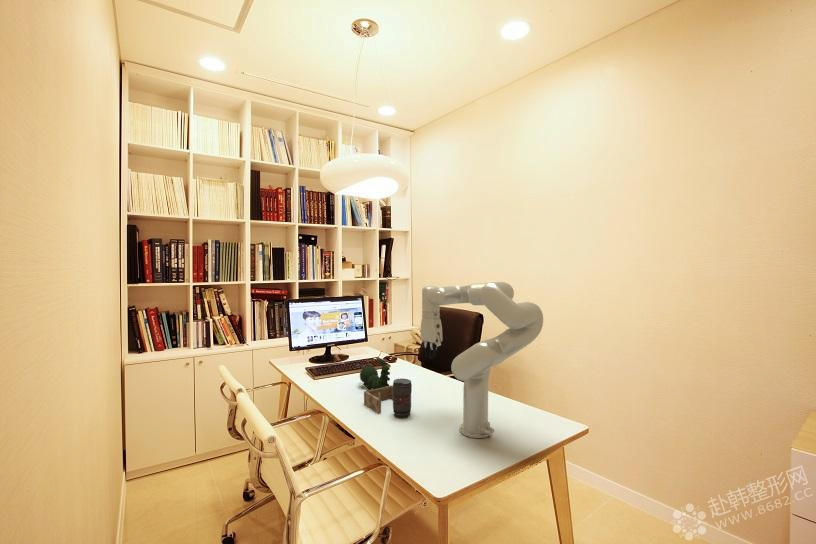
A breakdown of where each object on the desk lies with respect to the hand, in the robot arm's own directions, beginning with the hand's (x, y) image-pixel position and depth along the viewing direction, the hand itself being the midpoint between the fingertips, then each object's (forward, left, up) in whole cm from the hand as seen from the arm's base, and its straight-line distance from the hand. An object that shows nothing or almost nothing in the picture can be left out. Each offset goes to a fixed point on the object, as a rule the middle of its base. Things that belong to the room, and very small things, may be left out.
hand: (430, 357), depth 160 cm
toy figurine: (+42, +4, -25) cm, 49 cm away
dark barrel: (+7, +10, -25) cm, 28 cm away
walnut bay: (+20, +10, -25) cm, 34 cm away
